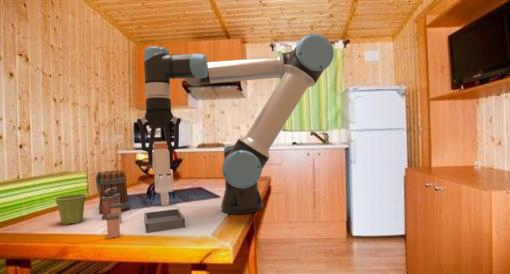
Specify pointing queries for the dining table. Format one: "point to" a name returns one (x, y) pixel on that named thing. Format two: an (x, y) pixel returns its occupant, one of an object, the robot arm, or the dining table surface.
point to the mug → (111, 181)
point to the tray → (163, 220)
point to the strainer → (164, 187)
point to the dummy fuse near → (113, 225)
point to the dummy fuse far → (116, 209)
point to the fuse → (161, 157)
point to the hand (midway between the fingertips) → (161, 172)
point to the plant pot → (71, 207)
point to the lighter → (109, 201)
